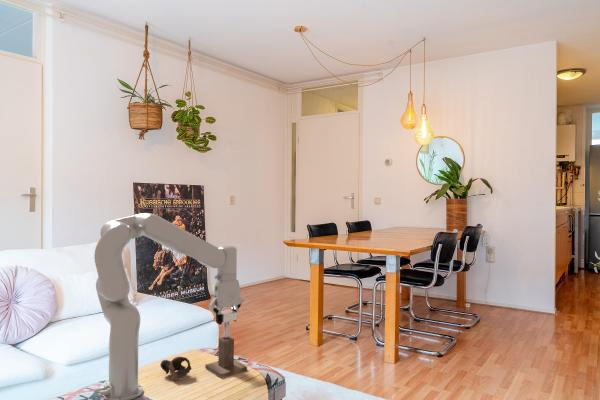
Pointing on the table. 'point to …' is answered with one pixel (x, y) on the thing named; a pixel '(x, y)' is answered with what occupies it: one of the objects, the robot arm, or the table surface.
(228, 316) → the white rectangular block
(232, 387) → the table surface
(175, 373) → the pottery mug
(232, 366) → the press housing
